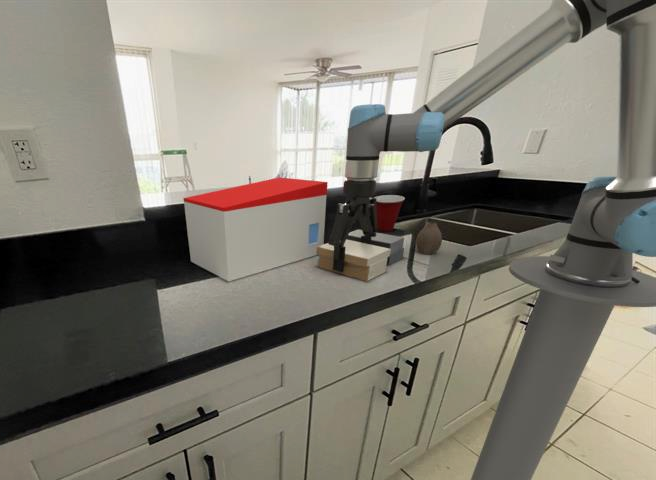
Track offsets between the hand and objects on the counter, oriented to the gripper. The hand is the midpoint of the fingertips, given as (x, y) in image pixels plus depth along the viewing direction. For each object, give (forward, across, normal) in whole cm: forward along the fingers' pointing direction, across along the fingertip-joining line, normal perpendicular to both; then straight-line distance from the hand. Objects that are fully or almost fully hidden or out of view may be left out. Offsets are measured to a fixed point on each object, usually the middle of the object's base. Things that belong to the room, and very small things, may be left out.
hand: (351, 265), depth 89 cm
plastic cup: (+1, -45, -15) cm, 47 cm away
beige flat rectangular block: (-3, 0, 0) cm, 3 cm away
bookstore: (+1, +10, -26) cm, 28 cm away
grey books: (+1, -14, -2) cm, 14 cm away
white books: (+1, 0, 0) cm, 1 cm away
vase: (+1, -28, +8) cm, 29 cm away
